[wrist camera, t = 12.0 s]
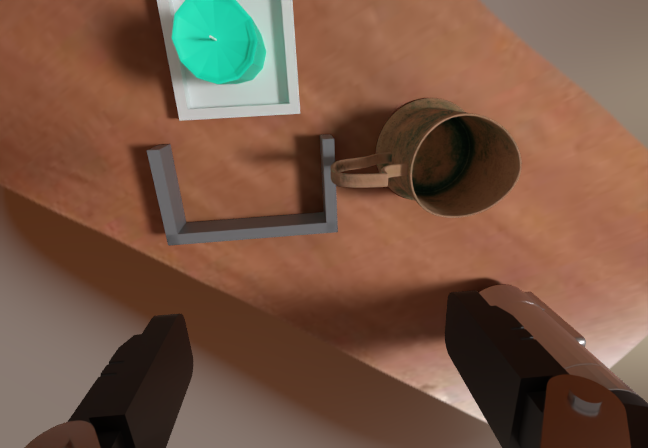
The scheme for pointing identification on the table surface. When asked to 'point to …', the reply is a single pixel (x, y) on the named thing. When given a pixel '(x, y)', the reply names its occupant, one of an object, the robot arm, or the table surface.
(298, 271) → the table surface
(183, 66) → the white square tray
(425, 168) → the mug
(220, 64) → the candle
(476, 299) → the robot arm
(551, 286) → the table surface
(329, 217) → the bay
